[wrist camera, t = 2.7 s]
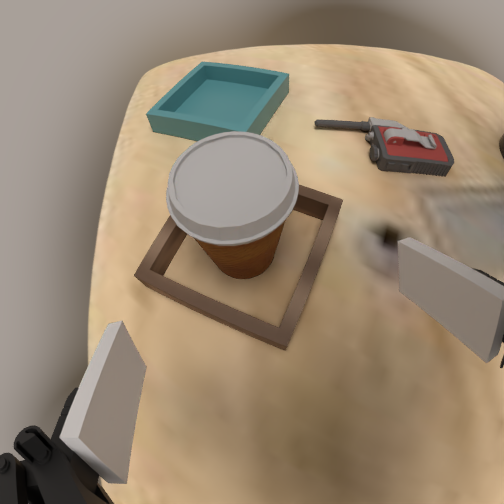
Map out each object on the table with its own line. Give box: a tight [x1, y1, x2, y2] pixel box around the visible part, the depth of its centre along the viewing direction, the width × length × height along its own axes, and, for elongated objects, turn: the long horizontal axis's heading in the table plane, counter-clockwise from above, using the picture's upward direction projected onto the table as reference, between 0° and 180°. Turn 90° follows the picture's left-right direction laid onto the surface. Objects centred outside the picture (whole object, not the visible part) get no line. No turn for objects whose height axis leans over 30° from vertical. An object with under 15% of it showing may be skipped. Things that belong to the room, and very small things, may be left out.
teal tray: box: [146, 62, 289, 141], centre depth 39 cm, size 15×15×4 cm
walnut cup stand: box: [134, 185, 343, 350], centre depth 29 cm, size 15×15×3 cm
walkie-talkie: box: [315, 117, 454, 176], centre depth 34 cm, size 9×4×20 cm
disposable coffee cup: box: [166, 131, 299, 279], centre depth 25 cm, size 10×10×12 cm
